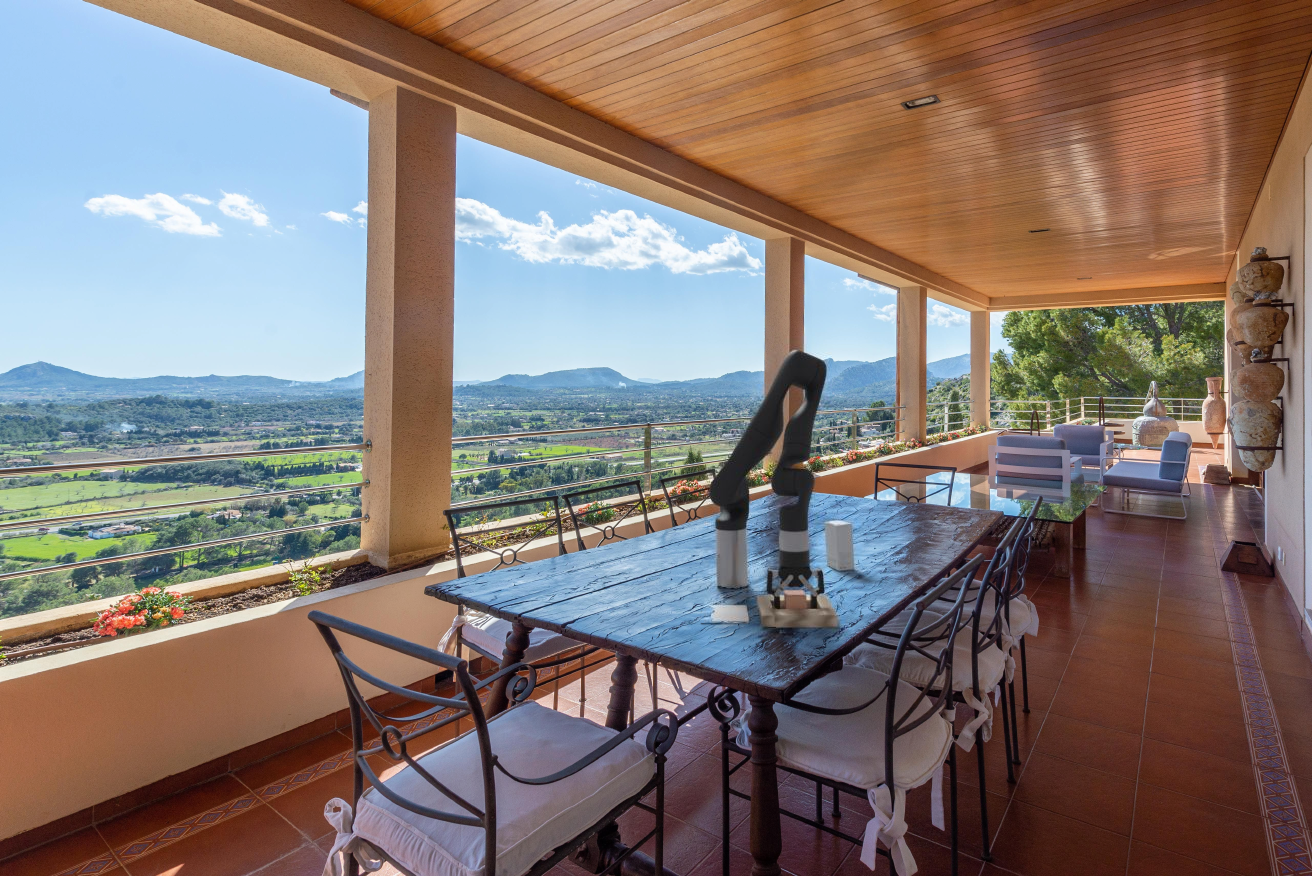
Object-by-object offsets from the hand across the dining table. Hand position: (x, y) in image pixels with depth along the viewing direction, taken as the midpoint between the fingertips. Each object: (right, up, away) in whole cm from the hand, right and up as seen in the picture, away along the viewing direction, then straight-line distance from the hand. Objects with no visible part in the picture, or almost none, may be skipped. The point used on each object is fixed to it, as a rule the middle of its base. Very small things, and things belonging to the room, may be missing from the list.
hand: (795, 609), depth 163 cm
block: (0, -2, 0) cm, 2 cm away
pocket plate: (0, -2, 0) cm, 2 cm away
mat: (-18, -2, +3) cm, 18 cm away
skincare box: (+24, +2, +44) cm, 50 cm away
